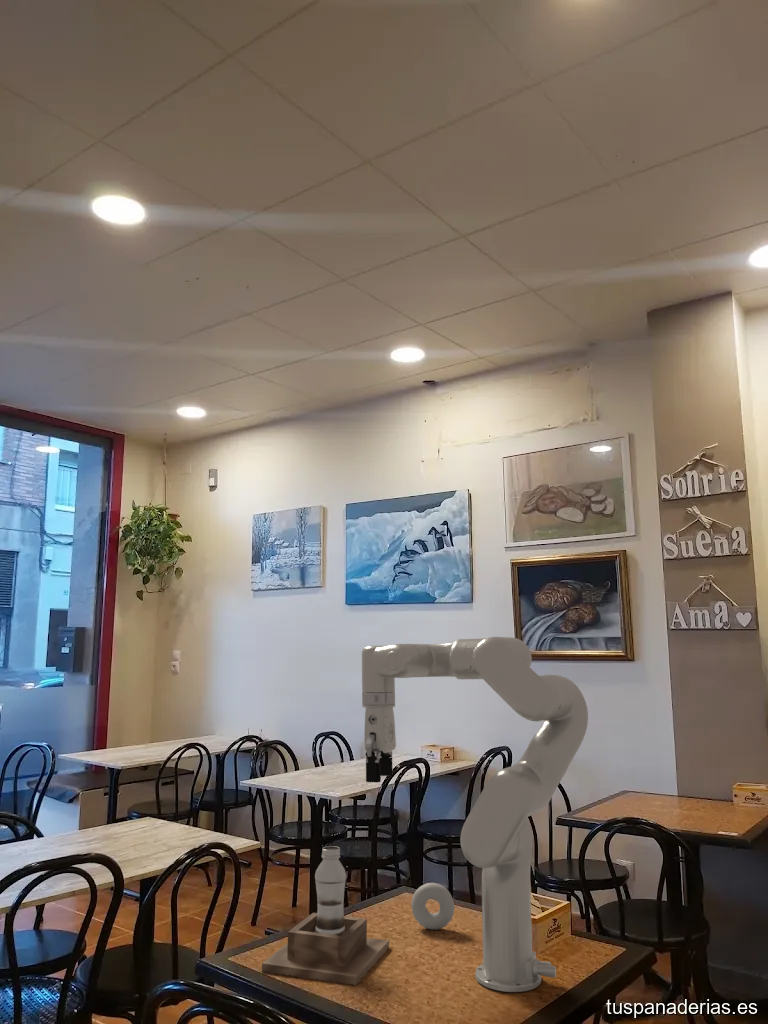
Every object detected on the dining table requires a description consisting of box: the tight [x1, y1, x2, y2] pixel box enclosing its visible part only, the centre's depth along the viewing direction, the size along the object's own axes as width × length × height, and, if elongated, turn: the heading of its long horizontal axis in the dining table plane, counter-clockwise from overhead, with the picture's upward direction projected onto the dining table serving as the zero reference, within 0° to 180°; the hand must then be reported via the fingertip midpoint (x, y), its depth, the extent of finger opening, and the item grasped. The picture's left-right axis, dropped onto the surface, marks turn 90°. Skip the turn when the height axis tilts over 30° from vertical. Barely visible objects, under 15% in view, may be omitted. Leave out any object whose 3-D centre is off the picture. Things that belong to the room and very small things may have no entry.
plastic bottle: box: [314, 845, 347, 936], centre depth 161 cm, size 6×7×20 cm
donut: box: [410, 882, 455, 931], centre depth 177 cm, size 10×4×10 cm, turn 80°
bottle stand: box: [261, 912, 390, 986], centre depth 160 cm, size 20×20×6 cm
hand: (379, 778), depth 173 cm, fingers open, 9 cm apart
